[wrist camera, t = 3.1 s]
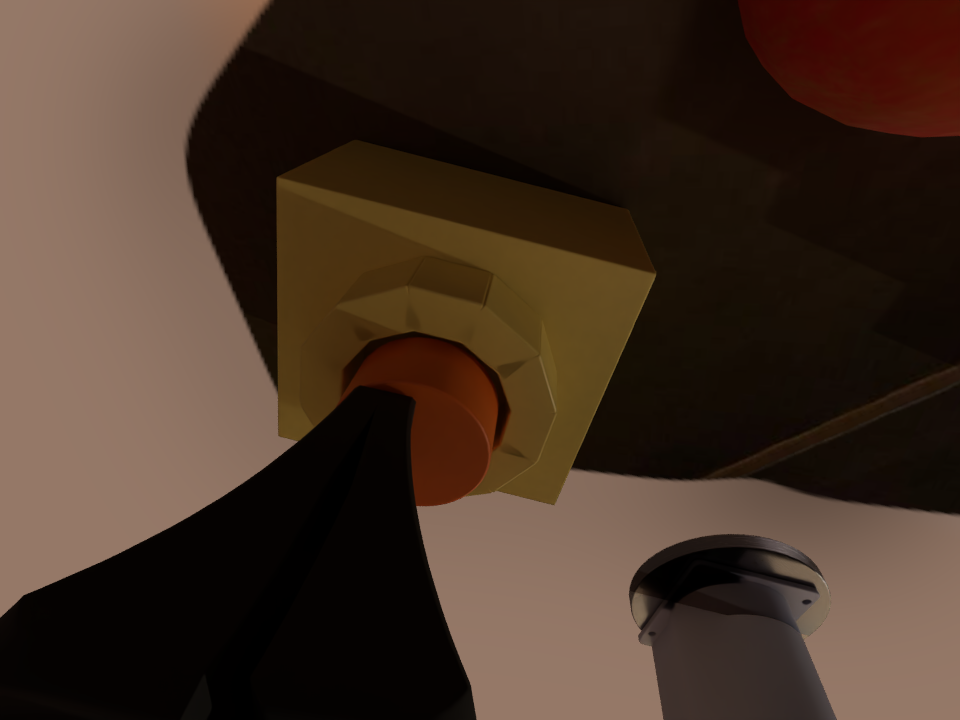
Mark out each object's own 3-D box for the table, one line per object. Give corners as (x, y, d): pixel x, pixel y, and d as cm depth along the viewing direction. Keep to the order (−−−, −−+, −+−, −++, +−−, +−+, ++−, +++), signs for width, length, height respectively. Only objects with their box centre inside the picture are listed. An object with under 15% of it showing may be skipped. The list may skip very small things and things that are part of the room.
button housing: (554, 403, 23) (554, 554, 16) (339, 349, 23) (248, 478, 16) (628, 208, 18) (672, 308, 11) (354, 138, 18) (233, 196, 11)
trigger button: (481, 467, 15) (471, 522, 13) (350, 434, 15) (324, 485, 13) (514, 358, 13) (508, 406, 11) (362, 319, 13) (332, 362, 11)
